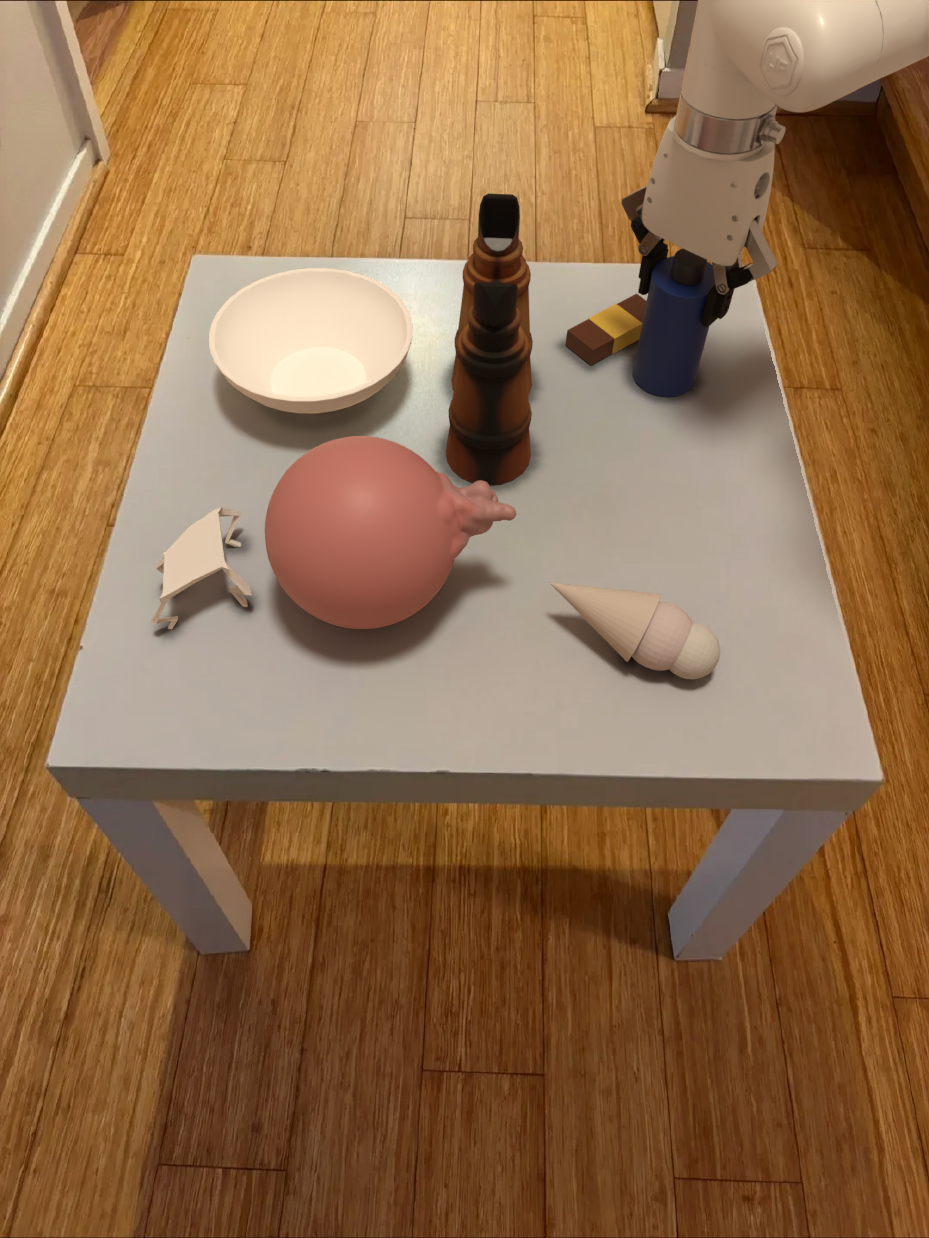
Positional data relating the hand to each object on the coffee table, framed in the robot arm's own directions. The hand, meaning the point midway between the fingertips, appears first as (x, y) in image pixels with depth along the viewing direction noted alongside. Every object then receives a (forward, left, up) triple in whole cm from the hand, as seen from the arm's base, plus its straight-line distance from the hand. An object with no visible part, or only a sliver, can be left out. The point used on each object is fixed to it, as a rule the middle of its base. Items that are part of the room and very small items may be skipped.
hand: (680, 302), depth 94 cm
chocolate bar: (+8, -1, -9) cm, 12 cm away
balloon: (+2, +38, -9) cm, 40 cm away
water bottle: (0, 0, -9) cm, 9 cm away
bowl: (+26, +25, -9) cm, 37 cm away
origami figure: (+14, +48, -9) cm, 51 cm away
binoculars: (+10, +17, -9) cm, 21 cm away
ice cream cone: (-16, +30, -9) cm, 35 cm away
